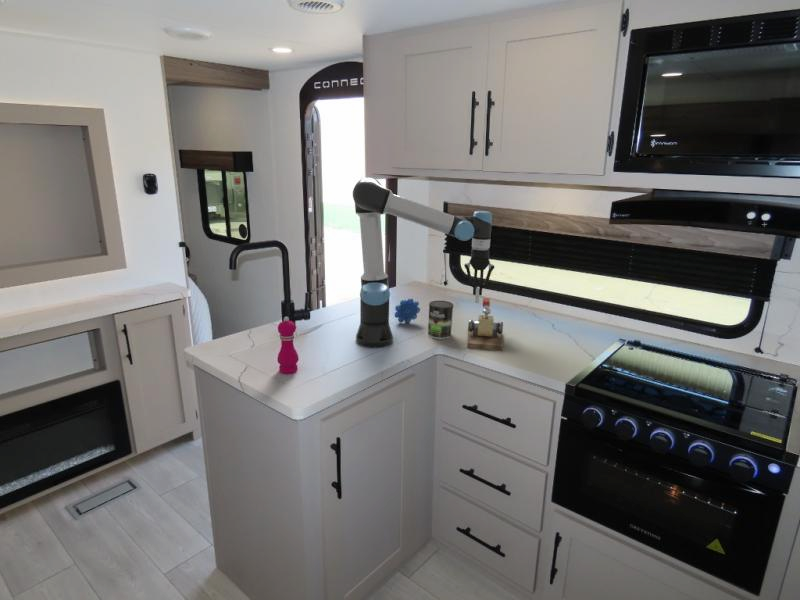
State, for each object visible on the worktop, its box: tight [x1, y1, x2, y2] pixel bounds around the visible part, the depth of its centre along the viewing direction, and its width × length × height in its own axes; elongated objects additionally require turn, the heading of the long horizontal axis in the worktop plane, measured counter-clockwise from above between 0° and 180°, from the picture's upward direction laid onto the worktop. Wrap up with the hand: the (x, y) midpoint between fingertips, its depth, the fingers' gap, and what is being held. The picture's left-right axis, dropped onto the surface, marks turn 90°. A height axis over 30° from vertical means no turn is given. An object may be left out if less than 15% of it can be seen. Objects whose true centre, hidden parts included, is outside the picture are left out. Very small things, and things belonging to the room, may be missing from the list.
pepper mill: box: [276, 316, 300, 375], centre depth 169 cm, size 7×7×20 cm
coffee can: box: [427, 300, 454, 340], centre depth 207 cm, size 10×10×14 cm
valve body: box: [467, 313, 504, 338], centre depth 203 cm, size 14×6×10 cm, turn 81°
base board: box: [466, 330, 504, 351], centre depth 204 cm, size 14×20×2 cm
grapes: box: [394, 297, 421, 324], centre depth 222 cm, size 12×7×12 cm, turn 90°
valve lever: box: [482, 297, 492, 315], centre depth 207 cm, size 16×3×2 cm, turn 171°
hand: (476, 302), depth 211 cm, fingers closed
